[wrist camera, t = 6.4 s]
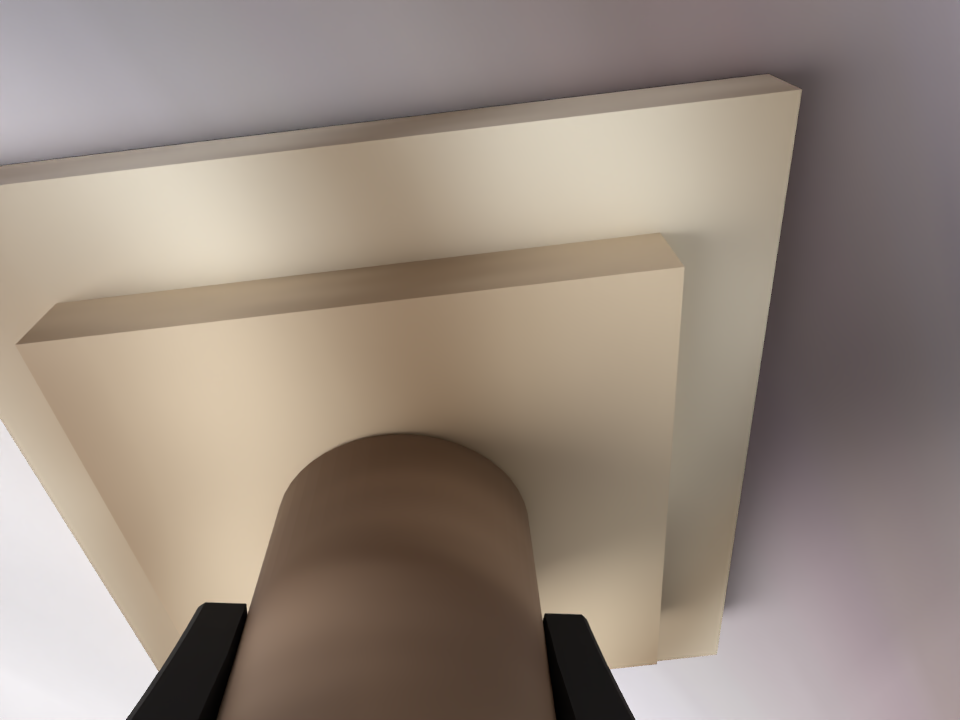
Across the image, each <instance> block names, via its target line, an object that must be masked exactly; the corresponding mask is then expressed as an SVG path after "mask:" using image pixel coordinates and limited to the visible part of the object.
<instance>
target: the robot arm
mask: <svg viewBox="0 0 960 720" xmlns="http://www.w3.org/2000/svg"><path fill="white" fill-rule="evenodd" d="M246 618H247V604H245V603H215V602H205V603H203V604H202V605H200V606H199V607H198V608H197V610H196V612H195V613H194V615H193V617H192V619H191V620H190V622H189V624H188V626H187V627H186V629H185V631H184V632H183V634H182V636H181V637H180V639H179V641H178V642H177V644H176V645H175V647H174V649H173V650H172V652H171V653H170V655H169V657H168V658H167V660H166V661H165V663H164V664H163V666H162V668H161V669H160V671H159V672H158V674H157V675H156V677H155V678H154V680H153V681H152V683H151V684H150V686H149V687H148V689H147V690H146V692H145V693H144V695H143V696H142V698H141V699H140V701H139V702H138V703H137V705H136V706H135V708H134V709H133V710H132V712H131V713H130V715H129V716H128V718H127V719H126V720H216V719H217V715H218V712H219V708H220V705H221V702H222V698H223V695H224V692H225V688H226V685H227V682H228V678H229V675H230V671H231V668H232V665H233V661H234V658H235V655H236V651H237V648H238V645H239V641H240V638H241V634H242V631H243V628H244V624H245V621H246ZM543 627H544V634H545V641H546V649H547V656H548V663H549V670H550V677H551V684H552V692H553V699H554V706H555V713H556V720H635V718H634V716H633V714H632V712H631V711H630V709H629V707H628V705H627V703H626V701H625V699H624V697H623V695H622V693H621V691H620V689H619V687H618V685H617V683H616V681H615V679H614V677H613V675H612V673H611V671H610V669H609V667H608V665H607V663H606V661H605V658H604V656H603V654H602V652H601V650H600V648H599V646H598V643H597V641H596V639H595V637H594V635H593V632H592V630H591V628H590V625H589V623H588V621H587V619H586V618H585V617H584V616H583V615H582V614H554V613H545V614H544V618H543Z"/></svg>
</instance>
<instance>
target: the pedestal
mask: <svg viewBox="0 0 960 720" xmlns="http://www.w3.org/2000/svg"><path fill="white" fill-rule="evenodd" d="M801 93H802V89H800V88H798V87H796V86H794V85H791V84H789V83H787V82H785V81H783V80H781V79H778V78H776V77H774V76H772V75H770V74H763V75H755V76H746V77H738V78H730V79H721V80H713V81H704V82H696V83H688V84H679V85H671V86H663V87H654V88H646V89H638V90H629V91H621V92H613V93H604V94H596V95H587V96H579V97H571V98H562V99H554V100H546V101H537V102H529V103H521V104H512V105H504V106H496V107H487V108H479V109H470V110H462V111H454V112H445V113H437V114H429V115H420V116H412V117H404V118H395V119H387V120H379V121H370V122H362V123H353V124H345V125H337V126H328V127H320V128H312V129H303V130H295V131H287V132H278V133H270V134H262V135H253V136H245V137H236V138H228V139H220V140H211V141H203V142H195V143H186V144H178V145H170V146H161V147H153V148H145V149H136V150H128V151H119V152H111V153H103V154H94V155H86V156H78V157H69V158H61V159H53V160H44V161H36V162H28V163H19V164H11V165H2V166H0V419H1V421H2V422H3V424H4V425H5V427H6V428H7V430H8V432H9V433H10V435H11V436H12V438H13V440H14V441H15V443H16V444H17V446H18V448H19V449H20V451H21V452H22V454H23V456H24V457H25V459H26V460H27V462H28V464H29V465H30V467H31V468H32V470H33V472H34V473H35V475H36V476H37V478H38V480H39V481H40V483H41V484H42V486H43V488H44V489H45V491H46V492H47V494H48V496H49V497H50V499H51V500H52V502H53V504H54V505H55V507H56V508H57V510H58V512H59V513H60V515H61V516H62V518H63V519H64V521H65V523H66V524H67V526H68V527H69V529H70V531H71V532H72V534H73V535H74V537H75V539H76V540H77V542H78V543H79V545H80V547H81V548H82V550H83V551H84V553H85V555H86V556H87V558H88V559H89V561H90V563H91V564H92V566H93V567H94V569H95V571H96V572H97V574H98V575H99V577H100V579H101V580H102V582H103V583H104V585H105V587H106V588H107V590H108V591H109V593H110V595H111V596H112V598H113V599H114V601H115V603H116V604H117V606H118V607H119V609H120V610H121V612H122V614H123V615H124V617H125V618H126V620H127V622H128V623H129V625H130V626H131V628H132V630H133V631H134V633H135V634H136V636H137V638H138V639H139V641H140V642H141V644H142V646H143V647H144V649H145V650H146V652H147V654H148V655H149V657H150V658H151V660H152V662H153V663H154V665H155V666H156V668H157V670H158V671H160V669H161V668H162V666H163V664H164V663H165V661H166V660H167V658H168V657H169V655H170V653H171V652H172V650H173V649H174V647H175V645H176V644H177V642H178V641H179V639H180V637H181V636H182V634H183V632H184V631H185V629H186V627H187V626H188V624H189V622H190V620H191V619H192V617H193V615H194V613H195V612H196V610H197V608H198V607H199V606H200V605H202V604H203V603H205V602H215V603H245V604H247V614H248V611H249V608H250V604H251V601H252V597H253V594H254V591H255V587H256V584H257V581H258V577H259V574H260V571H261V567H262V564H263V561H264V557H265V554H266V550H267V547H268V544H269V540H270V537H271V534H272V530H273V527H274V524H275V520H276V517H277V513H278V510H279V507H280V504H281V501H282V499H283V496H284V493H285V492H286V490H287V488H288V487H289V485H290V483H291V482H292V481H293V479H294V478H295V477H296V476H297V475H298V474H299V472H300V471H301V470H303V469H304V468H305V467H306V466H307V465H308V464H309V463H311V462H312V461H313V460H315V459H317V458H318V457H320V456H321V455H323V454H324V453H326V452H328V451H330V450H332V449H334V448H336V447H339V446H341V445H344V444H347V443H350V442H353V441H356V440H361V439H365V438H369V437H376V436H384V435H418V436H427V437H432V438H437V439H442V440H446V441H449V442H452V443H455V444H459V445H461V446H464V447H466V448H468V449H470V450H473V451H475V452H477V453H478V454H480V455H482V456H483V457H485V458H487V459H489V460H490V461H491V462H492V463H494V464H495V465H496V466H498V467H499V468H500V469H501V470H502V471H503V472H504V473H505V474H506V475H507V476H508V477H509V478H510V479H511V480H512V482H513V483H514V485H515V486H516V487H517V489H518V490H519V492H520V494H521V496H522V498H523V500H524V503H525V506H526V509H527V513H528V520H529V527H530V534H531V541H532V548H533V555H534V563H535V570H536V577H537V584H538V591H539V598H540V606H541V613H542V620H543V618H544V614H545V613H554V614H582V615H583V616H584V617H585V618H586V619H587V621H588V623H589V625H590V628H591V630H592V632H593V635H594V637H595V639H596V641H597V643H598V646H599V648H600V650H601V652H602V654H603V656H604V658H605V661H606V663H607V665H608V667H609V669H616V668H625V667H634V666H643V665H652V664H657V661H662V660H671V659H680V658H689V657H698V656H708V655H717V649H718V642H719V636H720V629H721V623H722V616H723V609H724V603H725V596H726V589H727V583H728V576H729V570H730V563H731V556H732V550H733V543H734V536H735V530H736V523H737V517H738V510H739V503H740V497H741V490H742V484H743V477H744V470H745V464H746V457H747V450H748V444H749V437H750V431H751V424H752V417H753V411H754V404H755V397H756V391H757V384H758V378H759V371H760V364H761V358H762V351H763V344H764V338H765V331H766V325H767V318H768V311H769V305H770V298H771V292H772V285H773V278H774V272H775V265H776V258H777V252H778V245H779V239H780V232H781V225H782V219H783V212H784V205H785V199H786V192H787V186H788V179H789V172H790V166H791V159H792V152H793V146H794V139H795V133H796V126H797V119H798V113H799V106H800V100H801Z"/></svg>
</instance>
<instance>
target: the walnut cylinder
mask: <svg viewBox="0 0 960 720" xmlns="http://www.w3.org/2000/svg"><path fill="white" fill-rule="evenodd" d="M216 720H556V713H555V706H554V699H553V692H552V684H551V677H550V670H549V663H548V656H547V649H546V641H545V634H544V627H543V620H542V613H541V606H540V598H539V591H538V584H537V577H536V570H535V563H534V555H533V548H532V541H531V534H530V527H529V520H528V513H527V509H526V506H525V503H524V500H523V498H522V496H521V494H520V492H519V490H518V489H517V487H516V486H515V485H514V483H513V482H512V480H511V479H510V478H509V477H508V476H507V475H506V474H505V473H504V472H503V471H502V470H501V469H500V468H499V467H498V466H496V465H495V464H494V463H492V462H491V461H490V460H489V459H487V458H485V457H483V456H482V455H480V454H478V453H477V452H475V451H473V450H470V449H468V448H466V447H464V446H461V445H459V444H455V443H452V442H449V441H446V440H442V439H437V438H432V437H427V436H418V435H384V436H376V437H369V438H365V439H361V440H356V441H353V442H350V443H347V444H344V445H341V446H339V447H336V448H334V449H332V450H330V451H328V452H326V453H324V454H323V455H321V456H320V457H318V458H317V459H315V460H313V461H312V462H311V463H309V464H308V465H307V466H306V467H305V468H304V469H303V470H301V471H300V472H299V474H298V475H297V476H296V477H295V478H294V479H293V481H292V482H291V483H290V485H289V487H288V488H287V490H286V492H285V493H284V496H283V499H282V501H281V504H280V507H279V510H278V513H277V517H276V520H275V524H274V527H273V530H272V534H271V537H270V540H269V544H268V547H267V550H266V554H265V557H264V561H263V564H262V567H261V571H260V574H259V577H258V581H257V584H256V587H255V591H254V594H253V597H252V601H251V604H250V608H249V611H248V614H247V618H246V621H245V624H244V628H243V631H242V634H241V638H240V641H239V645H238V648H237V651H236V655H235V658H234V661H233V665H232V668H231V671H230V675H229V678H228V682H227V685H226V688H225V692H224V695H223V698H222V702H221V705H220V708H219V712H218V715H217V719H216Z"/></svg>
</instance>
